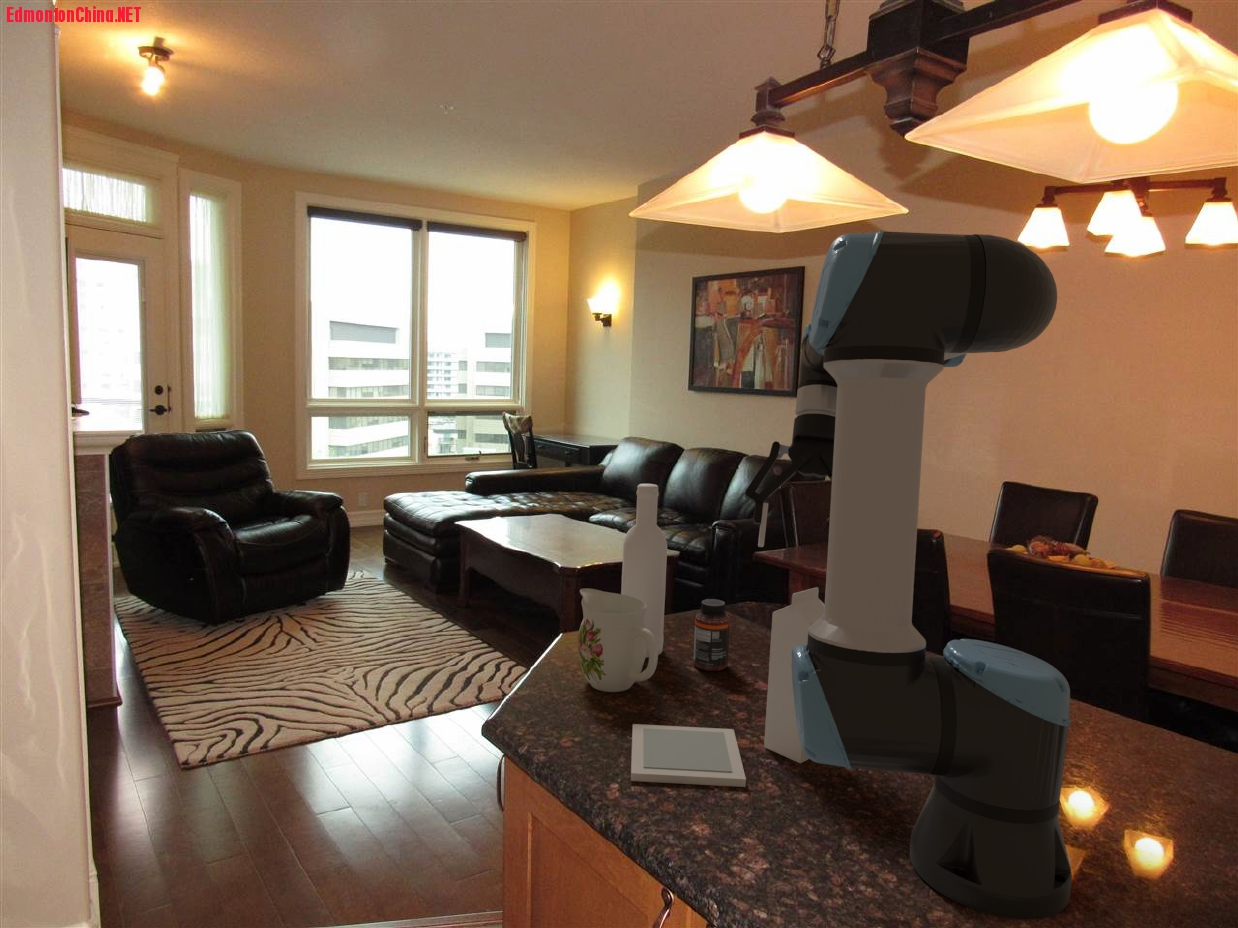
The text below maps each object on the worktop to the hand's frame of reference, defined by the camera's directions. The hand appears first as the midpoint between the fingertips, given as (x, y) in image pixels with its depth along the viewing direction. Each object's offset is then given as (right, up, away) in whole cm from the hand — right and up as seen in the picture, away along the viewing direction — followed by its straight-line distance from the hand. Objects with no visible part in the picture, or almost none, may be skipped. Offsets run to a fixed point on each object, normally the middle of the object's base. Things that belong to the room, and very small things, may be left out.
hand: (805, 552), depth 125 cm
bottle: (-25, -20, +22) cm, 39 cm away
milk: (-5, -25, -14) cm, 29 cm away
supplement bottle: (-13, -21, +16) cm, 29 cm away
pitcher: (-29, -22, +5) cm, 37 cm away
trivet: (-20, -25, -18) cm, 37 cm away
